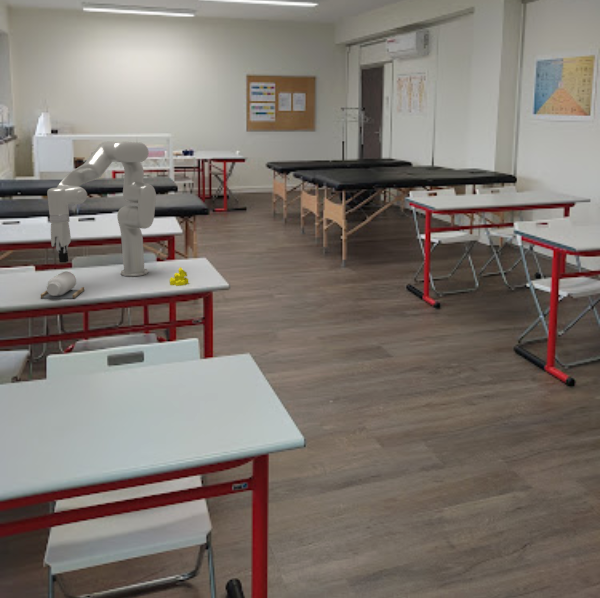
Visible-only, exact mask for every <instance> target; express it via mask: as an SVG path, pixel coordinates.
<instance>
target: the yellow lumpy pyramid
mask: <svg viewBox="0 0 600 598" xmlns="http://www.w3.org/2000/svg"><path fill="white" fill-rule="evenodd" d="M187 284H190V283H189V278H188V272H187V271H185V270H184V268H182V267H181V266H180V267H179V268H178V272H175V273H174V275H173V277H172V276H171V277H170V278H169V285H170V286H176V287H178V286H179V287H180V286H185V285H187Z"/></svg>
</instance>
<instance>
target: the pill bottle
mask: <svg viewBox="0 0 600 598" xmlns="http://www.w3.org/2000/svg"><path fill="white" fill-rule="evenodd" d="M76 285H77V277H76V275H74V273H73V272H71V271H62V272H60V273H58V274H56V276H53V277H52V278H50V279H49V280H48V282H47V286H46V290H47V292H48V293H49V294H50V295H52V296H61V295H63V294H65V293H66V292H68V291H69V290H73V288H75V286H76Z"/></svg>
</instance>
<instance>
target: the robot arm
mask: <svg viewBox="0 0 600 598" xmlns="http://www.w3.org/2000/svg"><path fill="white" fill-rule="evenodd" d="M148 156H149V148H148V147H147V145H146V144H145V143H143V142H138V141H136V142H135V141H102V142H101V143H99V144H98V146H96V148H95V149H94V151H93V152H92V153H91V154H90V155H89V157H88V158H87V159H86V161H85V162H84V163H83V164H81V165H80V166H78V167H77V168H75V169H73V170H72V171H70V172H69V173H68V174H67V175H65V176H64V177H63V178H62V180H61V181H60V182H59V184H57V186H56V187H52V188H51V187H50V188H49V189H47V192H46V193H47V194H46V195H47V203H48V210H49V212H48V213H49V221H50V243H51V247H53V248H55V250H56V251H57V253H58V261H59V263H68V262H69V255H68V254H69V253H68V251H69V250H68V247H69V244H70V243H71V240H72V239H71V238H72V237H71V231H70V230H71V229H70V222H71V221H70V213H69V210H70V209H69V205H82V204H83V203H85V202H86V201H87V198H88V192H87V191H86V189H85V188H83V187H81V186H82V185H84V184H86V183H88V182H94V181H96V180H97V179H99V178H101V177H102V176H103V175H104V173H105V172H106V171H107V169H108V168H109V167H110V166H111V164H112V163H121V164H122V166H123V169H124V170H123V171H124V176H123V186H122V187H123V189H122V197H123V200H125V202H127V203H130V204H137V206H135V205H124V206H122V207H120V208H119V209H118V212H117V215H116V216H117V222H118V226H119V230H120V237H121V250H122V251H121V252H122V253H121V254H122V264H123V270H120V275H121V276H124V277H140V276H144V275H147V274H149V269H147V268H146V267H145V256H144V254H145V253H144V239H143V233H142V230H141V229H144V230H145V229H149V228H150V227H151V226H152V224H153V222H154V220H155V219H154V218H155V212H156V211H155V210H156V200H157V193H156V189H155V187H154V186H153V185H152V184H150V183H147V182H144V174H145V173H144V172H145V171H144V166H143V164H142V162H145V161H146V160H147V159H148Z"/></svg>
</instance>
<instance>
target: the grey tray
mask: <svg viewBox="0 0 600 598" xmlns="http://www.w3.org/2000/svg"><path fill="white" fill-rule="evenodd" d="M78 290H79V289H71V290H69V291H68V292H66V293H65V294H63V295H61V296H52V295H50V294H49V293H48V294H47V295H45V296H44V297H43V299H42V300H76V299H77V298H78V297H79V296H81V295H82V294H83V293H84V292H85V291H86V290H84V291H82V292H81V293H80V294H79V295H78V296H77V298H76V297H75V298H73V296H72V295H73V294H74V293H75V292H77V291H78Z"/></svg>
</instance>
